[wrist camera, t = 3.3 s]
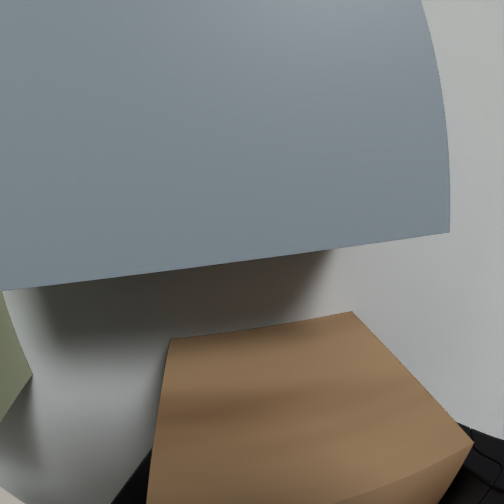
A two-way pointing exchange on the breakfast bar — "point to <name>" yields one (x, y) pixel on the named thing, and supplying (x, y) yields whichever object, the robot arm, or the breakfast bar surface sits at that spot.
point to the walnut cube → (299, 421)
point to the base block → (212, 133)
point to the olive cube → (10, 362)
